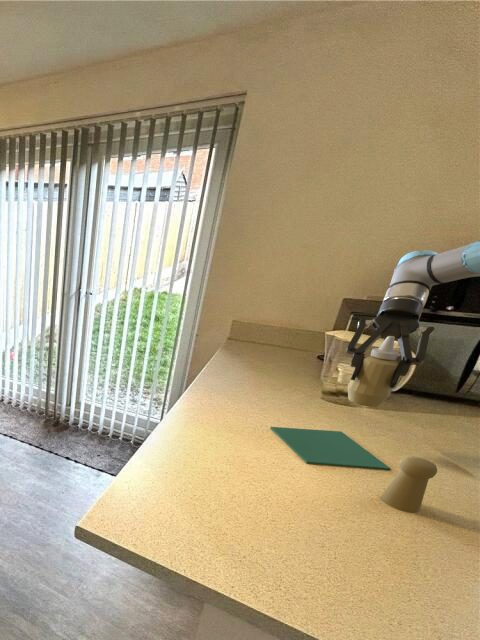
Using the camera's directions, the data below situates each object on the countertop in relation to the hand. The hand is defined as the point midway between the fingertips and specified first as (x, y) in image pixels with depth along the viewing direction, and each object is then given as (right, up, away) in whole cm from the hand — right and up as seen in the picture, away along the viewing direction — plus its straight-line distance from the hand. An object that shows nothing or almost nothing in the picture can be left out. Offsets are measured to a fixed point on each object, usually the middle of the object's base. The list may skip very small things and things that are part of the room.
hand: (372, 381), depth 97 cm
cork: (-7, -27, -12) cm, 30 cm away
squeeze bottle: (+3, -6, +5) cm, 8 cm away
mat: (-5, -18, +8) cm, 20 cm away
